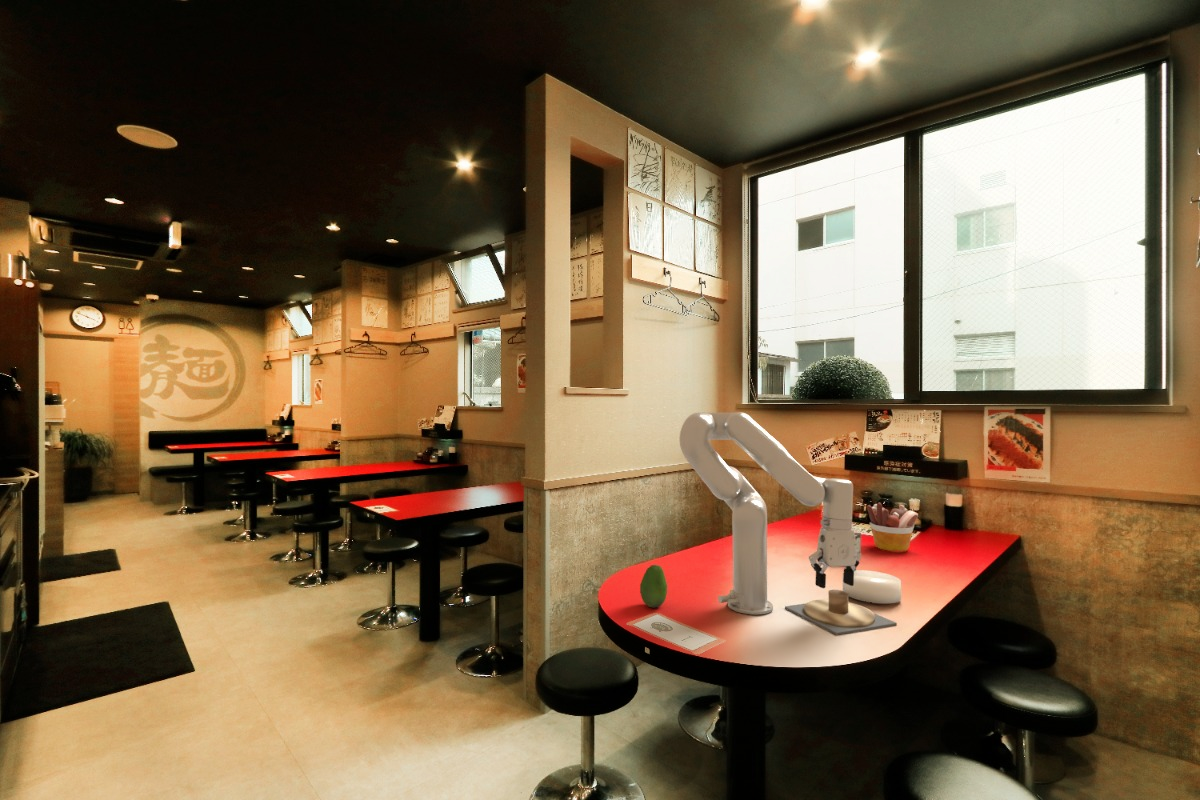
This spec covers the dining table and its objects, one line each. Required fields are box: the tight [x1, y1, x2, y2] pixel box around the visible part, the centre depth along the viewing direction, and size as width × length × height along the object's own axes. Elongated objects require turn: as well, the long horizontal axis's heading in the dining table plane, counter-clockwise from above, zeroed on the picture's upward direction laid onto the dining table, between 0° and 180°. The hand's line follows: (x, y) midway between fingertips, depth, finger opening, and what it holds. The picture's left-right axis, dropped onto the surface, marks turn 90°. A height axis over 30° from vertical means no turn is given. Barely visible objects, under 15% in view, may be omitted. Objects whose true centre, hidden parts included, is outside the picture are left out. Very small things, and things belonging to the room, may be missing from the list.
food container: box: [854, 531, 862, 555], centre depth 208 cm, size 12×6×10 cm, turn 141°
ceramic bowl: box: [842, 569, 902, 604], centre depth 166 cm, size 16×16×6 cm
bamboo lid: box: [804, 589, 875, 627], centre depth 151 cm, size 18×18×6 cm
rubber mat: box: [784, 602, 898, 636], centre depth 151 cm, size 20×20×1 cm
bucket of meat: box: [866, 502, 919, 552], centre depth 226 cm, size 20×16×20 cm
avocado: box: [639, 564, 668, 608], centre depth 159 cm, size 8×8×12 cm
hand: (834, 585), depth 151 cm, fingers open, 9 cm apart
